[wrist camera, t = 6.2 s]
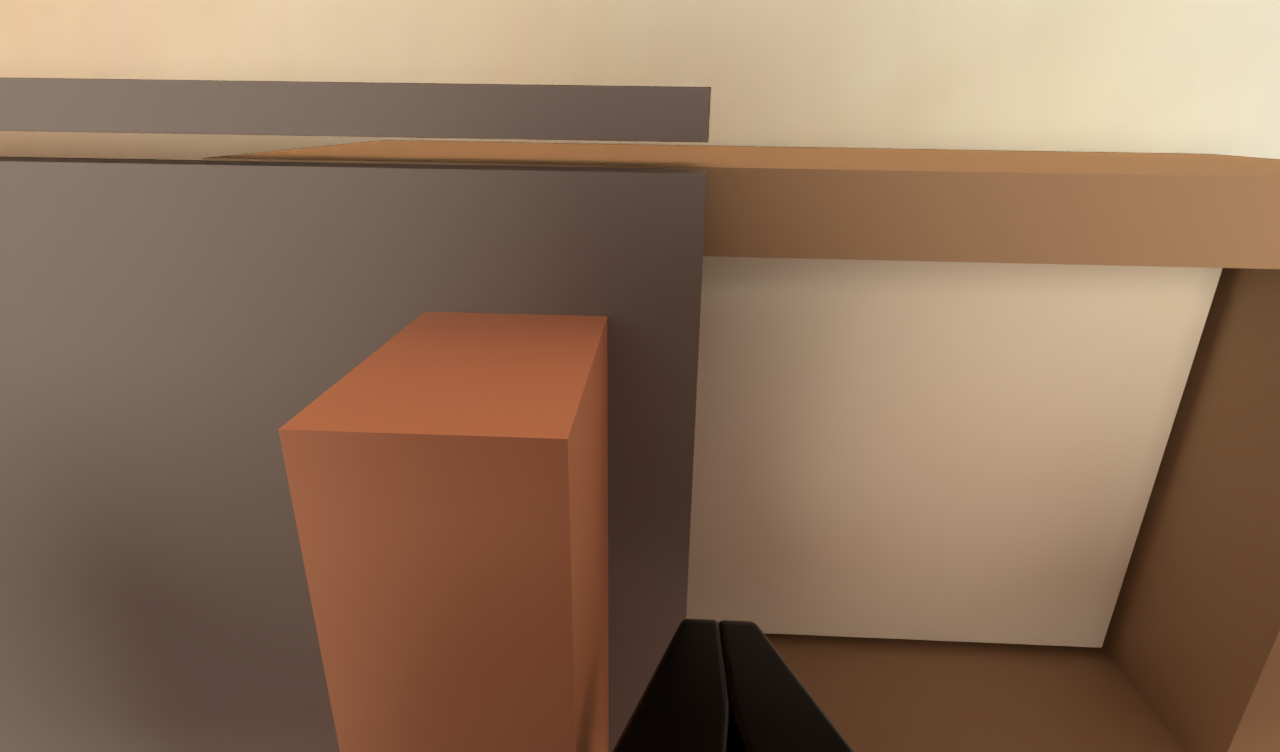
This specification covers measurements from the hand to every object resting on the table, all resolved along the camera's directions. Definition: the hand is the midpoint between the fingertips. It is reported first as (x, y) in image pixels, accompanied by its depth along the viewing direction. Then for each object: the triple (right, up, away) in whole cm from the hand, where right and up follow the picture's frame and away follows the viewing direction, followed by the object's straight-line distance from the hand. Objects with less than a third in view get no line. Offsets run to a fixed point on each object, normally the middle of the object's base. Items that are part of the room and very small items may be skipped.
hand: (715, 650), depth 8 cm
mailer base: (+2, +3, +7) cm, 7 cm away
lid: (-8, +1, +3) cm, 8 cm away
